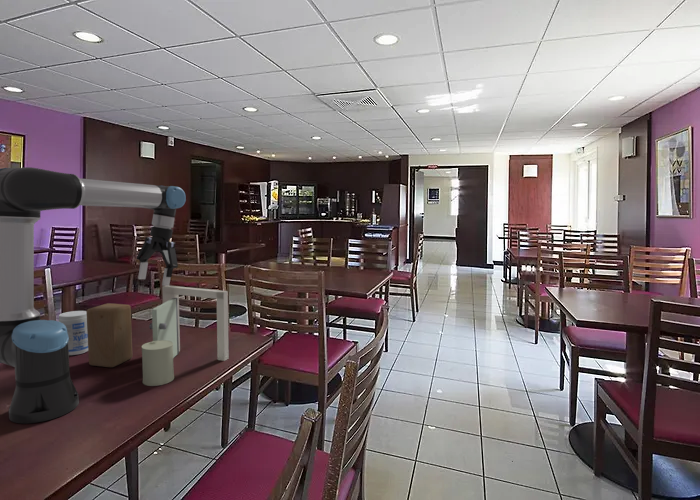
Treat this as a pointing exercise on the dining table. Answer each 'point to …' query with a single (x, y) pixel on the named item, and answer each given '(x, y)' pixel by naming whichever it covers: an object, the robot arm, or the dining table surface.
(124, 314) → the wooden block
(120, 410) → the dining table surface
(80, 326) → the supplement tub
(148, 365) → the can
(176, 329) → the door
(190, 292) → the door frame
